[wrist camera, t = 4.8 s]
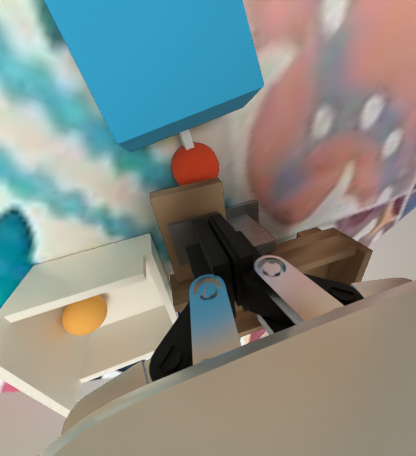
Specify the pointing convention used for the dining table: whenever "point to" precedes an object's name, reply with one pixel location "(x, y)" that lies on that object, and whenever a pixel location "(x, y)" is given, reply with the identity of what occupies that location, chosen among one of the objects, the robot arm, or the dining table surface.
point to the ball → (84, 315)
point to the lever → (163, 69)
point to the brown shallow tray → (289, 250)
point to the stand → (250, 225)
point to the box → (93, 342)
